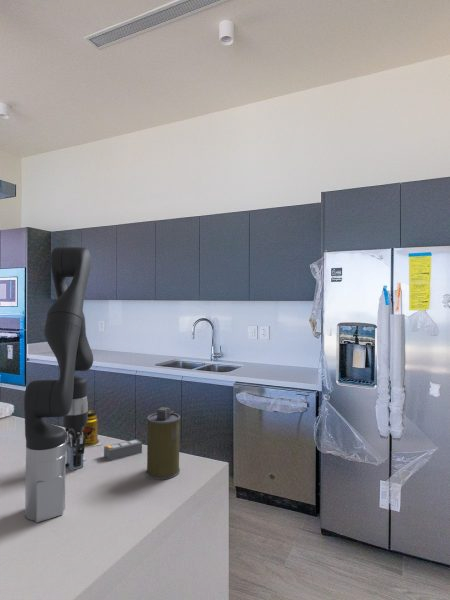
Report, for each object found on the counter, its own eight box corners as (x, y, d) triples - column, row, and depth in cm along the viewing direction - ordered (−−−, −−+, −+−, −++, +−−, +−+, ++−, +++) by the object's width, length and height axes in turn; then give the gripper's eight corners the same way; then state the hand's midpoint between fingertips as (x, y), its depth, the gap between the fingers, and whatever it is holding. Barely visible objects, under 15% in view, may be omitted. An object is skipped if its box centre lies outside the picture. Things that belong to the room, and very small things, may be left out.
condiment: (80, 448, 138) (81, 415, 138) (76, 441, 145) (77, 409, 145) (101, 445, 142) (101, 412, 142) (96, 437, 149) (96, 407, 149)
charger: (87, 466, 123) (87, 444, 123) (55, 474, 117) (55, 451, 117) (82, 461, 127) (82, 440, 127) (51, 468, 121) (52, 446, 121)
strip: (141, 452, 135) (142, 441, 135) (108, 461, 128) (108, 449, 128) (136, 448, 138) (136, 437, 138) (103, 456, 131) (104, 445, 131)
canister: (170, 482, 113) (171, 414, 113) (139, 476, 117) (140, 411, 117) (185, 467, 124) (186, 405, 124) (157, 462, 127) (157, 402, 127)
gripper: (94, 414, 120) (93, 468, 120) (80, 403, 131) (79, 453, 131) (69, 418, 115) (69, 474, 115) (57, 407, 126) (56, 459, 126)
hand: (74, 463), depth 123 cm, fingers closed on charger, 4 cm apart
